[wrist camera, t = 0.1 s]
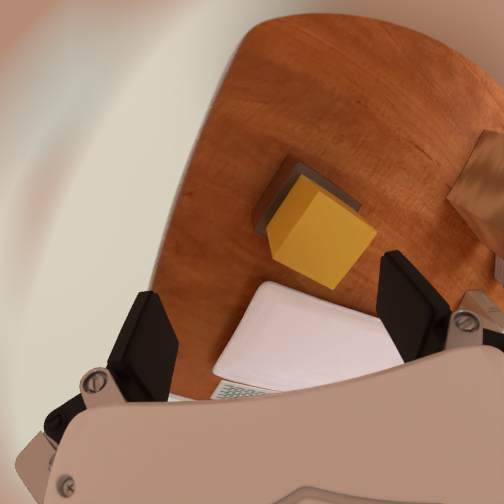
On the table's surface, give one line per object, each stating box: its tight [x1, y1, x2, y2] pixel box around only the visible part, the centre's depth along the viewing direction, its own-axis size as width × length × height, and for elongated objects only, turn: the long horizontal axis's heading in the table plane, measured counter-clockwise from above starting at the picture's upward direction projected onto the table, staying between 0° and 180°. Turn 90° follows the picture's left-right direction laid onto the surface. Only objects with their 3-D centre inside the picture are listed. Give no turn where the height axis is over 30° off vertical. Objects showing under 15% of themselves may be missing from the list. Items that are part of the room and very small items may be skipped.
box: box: [458, 290, 504, 334], centre depth 31 cm, size 5×4×11 cm
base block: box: [252, 154, 362, 238], centre depth 26 cm, size 7×7×5 cm
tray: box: [213, 281, 404, 392], centre depth 36 cm, size 17×31×4 cm, turn 66°
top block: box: [266, 174, 378, 290], centre depth 21 cm, size 6×6×6 cm
